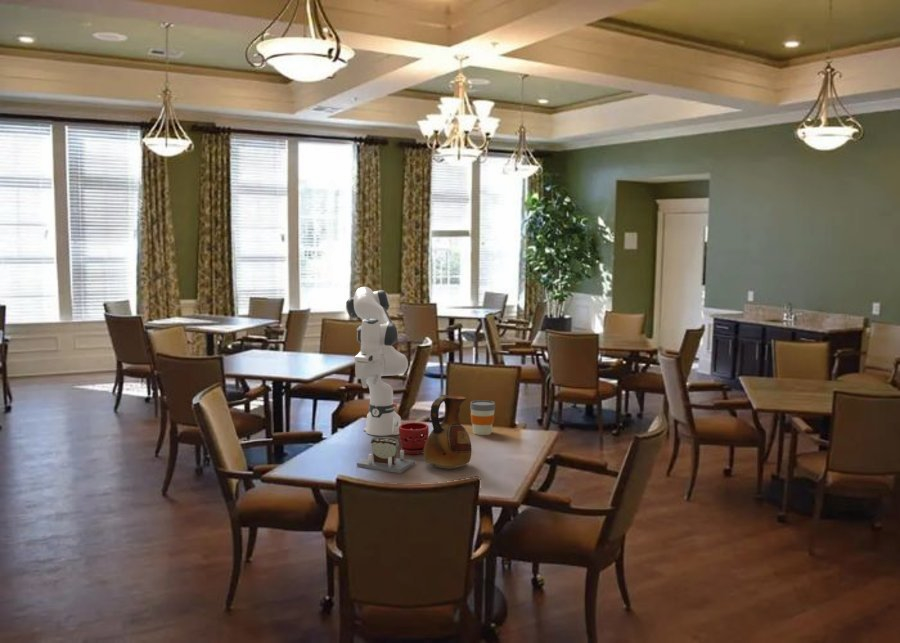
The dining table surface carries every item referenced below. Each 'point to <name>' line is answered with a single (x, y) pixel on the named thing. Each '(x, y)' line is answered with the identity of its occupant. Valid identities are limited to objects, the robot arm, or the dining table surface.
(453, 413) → the ceramic pitcher
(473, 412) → the reusable coffee cup
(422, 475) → the dining table surface
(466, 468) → the dining table surface
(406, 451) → the plant pot
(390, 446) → the food container
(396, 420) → the robot arm
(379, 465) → the pin tray
